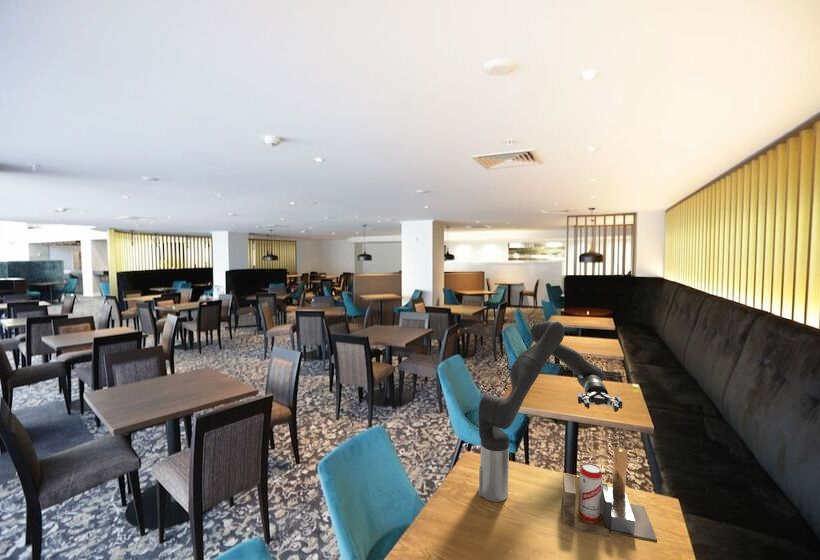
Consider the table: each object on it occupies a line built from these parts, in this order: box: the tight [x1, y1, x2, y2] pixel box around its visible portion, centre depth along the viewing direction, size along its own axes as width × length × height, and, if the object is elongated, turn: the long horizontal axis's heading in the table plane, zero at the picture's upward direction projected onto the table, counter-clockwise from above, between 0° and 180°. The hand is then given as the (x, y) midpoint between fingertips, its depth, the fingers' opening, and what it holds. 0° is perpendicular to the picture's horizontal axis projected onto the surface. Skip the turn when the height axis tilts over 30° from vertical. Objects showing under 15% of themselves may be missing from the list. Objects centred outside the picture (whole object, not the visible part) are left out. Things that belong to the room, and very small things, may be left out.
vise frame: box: [561, 472, 658, 542], centre depth 122 cm, size 24×17×10 cm
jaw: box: [601, 446, 635, 534], centre depth 121 cm, size 8×15×18 cm, turn 162°
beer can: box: [577, 462, 603, 524], centre depth 121 cm, size 6×6×16 cm
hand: (602, 407), depth 136 cm, fingers open, 8 cm apart
